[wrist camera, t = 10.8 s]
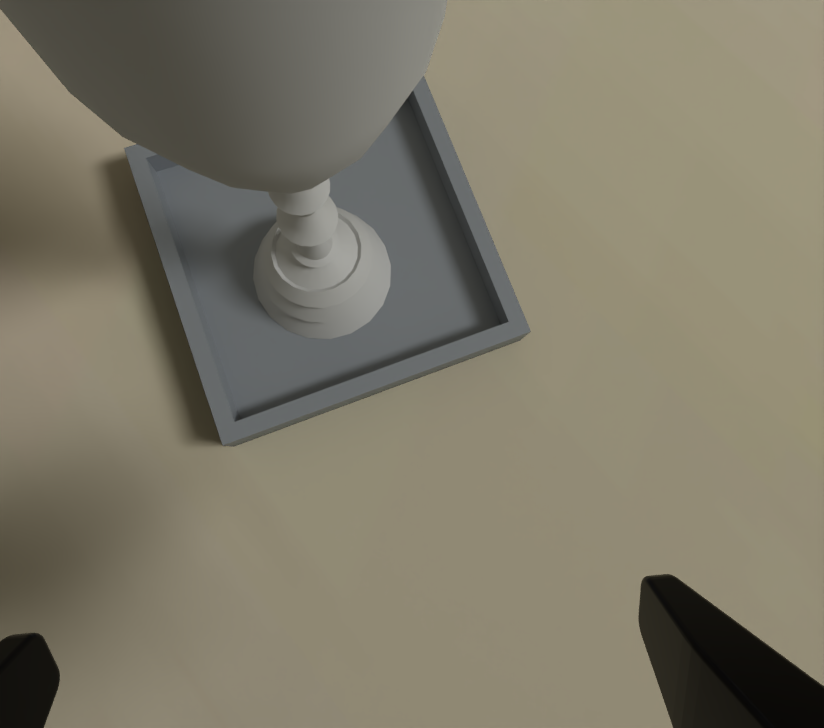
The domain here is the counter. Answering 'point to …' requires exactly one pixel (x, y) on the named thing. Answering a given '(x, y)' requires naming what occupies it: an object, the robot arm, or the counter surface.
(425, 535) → the counter surface
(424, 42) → the chalice
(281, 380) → the tray
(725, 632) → the robot arm
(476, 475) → the counter surface
